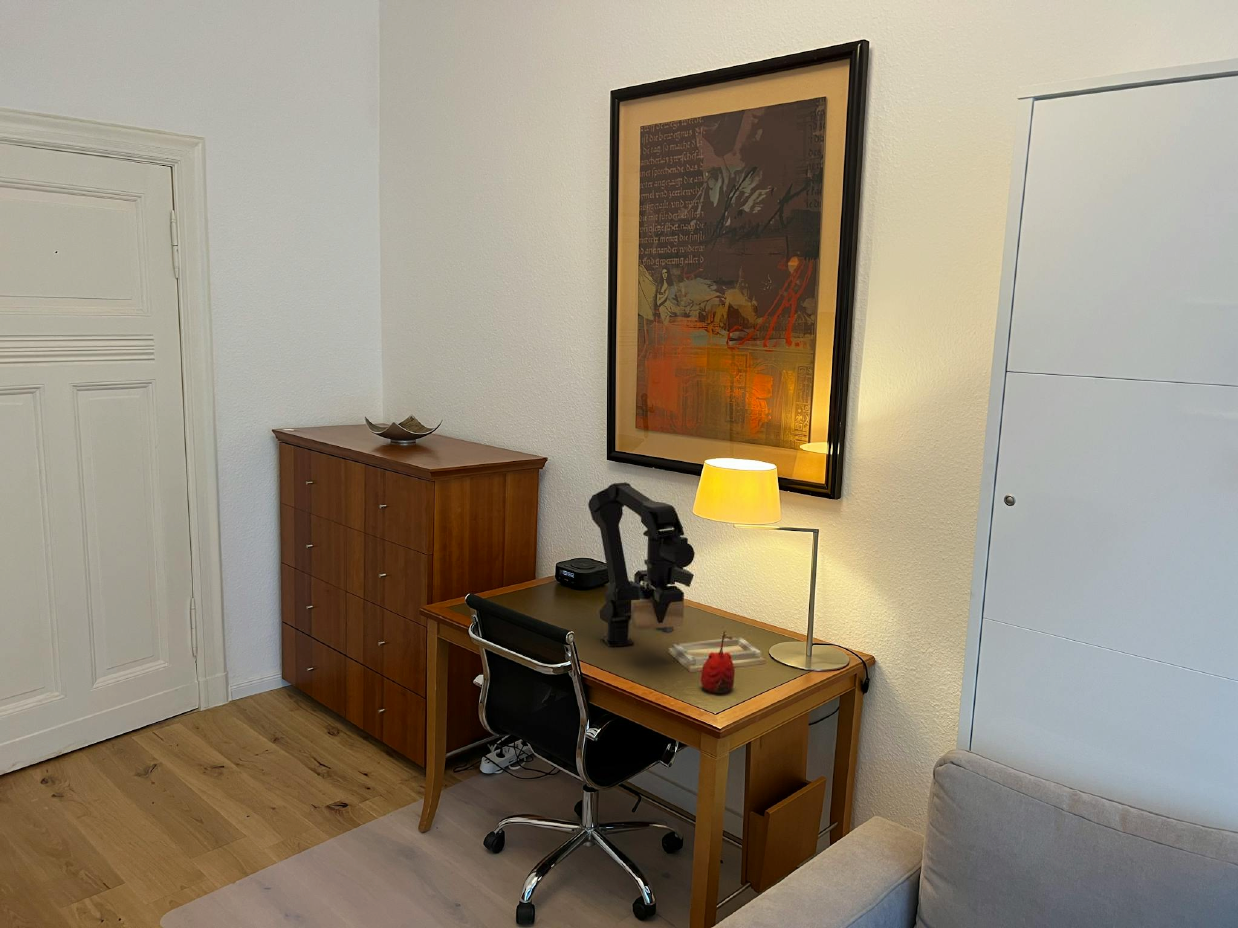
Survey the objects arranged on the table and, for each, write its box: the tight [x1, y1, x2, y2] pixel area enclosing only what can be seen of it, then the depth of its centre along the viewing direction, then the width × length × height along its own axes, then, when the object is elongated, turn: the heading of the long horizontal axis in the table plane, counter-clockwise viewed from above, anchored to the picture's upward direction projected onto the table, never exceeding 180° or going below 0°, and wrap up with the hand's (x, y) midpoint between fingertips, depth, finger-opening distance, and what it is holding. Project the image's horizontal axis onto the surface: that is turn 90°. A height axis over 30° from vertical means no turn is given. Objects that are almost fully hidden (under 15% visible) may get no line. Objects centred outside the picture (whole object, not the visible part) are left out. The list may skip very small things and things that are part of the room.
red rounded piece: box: [700, 630, 736, 695], centre depth 208 cm, size 8×7×15 cm
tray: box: [667, 636, 766, 673], centre depth 229 cm, size 14×20×2 cm
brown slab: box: [630, 599, 685, 631], centre depth 222 cm, size 4×12×6 cm, turn 108°
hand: (657, 619), depth 222 cm, fingers closed on brown slab, 4 cm apart
